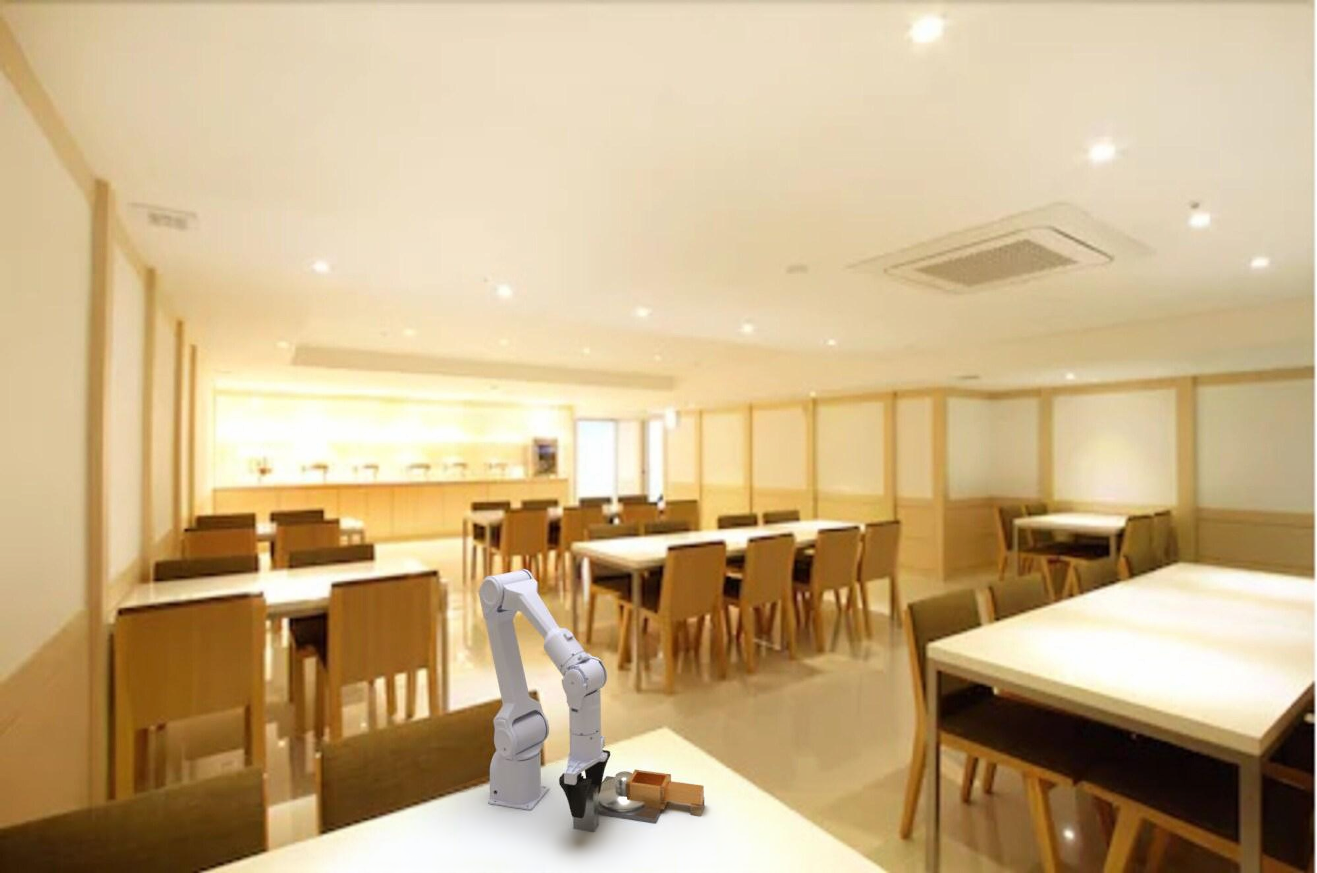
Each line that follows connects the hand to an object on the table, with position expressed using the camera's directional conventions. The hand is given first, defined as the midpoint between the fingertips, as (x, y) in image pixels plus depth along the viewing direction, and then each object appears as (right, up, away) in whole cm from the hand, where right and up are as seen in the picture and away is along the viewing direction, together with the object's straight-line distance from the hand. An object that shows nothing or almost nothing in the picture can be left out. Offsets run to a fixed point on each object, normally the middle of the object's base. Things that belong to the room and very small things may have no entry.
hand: (586, 804), depth 112 cm
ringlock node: (+11, -4, +7) cm, 14 cm away
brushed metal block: (0, -4, 0) cm, 4 cm away
